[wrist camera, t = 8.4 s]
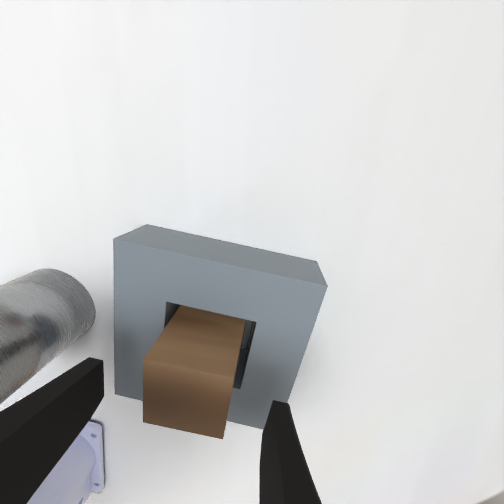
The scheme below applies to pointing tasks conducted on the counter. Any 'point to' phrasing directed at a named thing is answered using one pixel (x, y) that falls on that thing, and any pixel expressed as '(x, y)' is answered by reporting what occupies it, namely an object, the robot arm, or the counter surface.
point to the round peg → (39, 323)
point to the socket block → (215, 309)
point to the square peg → (192, 372)
